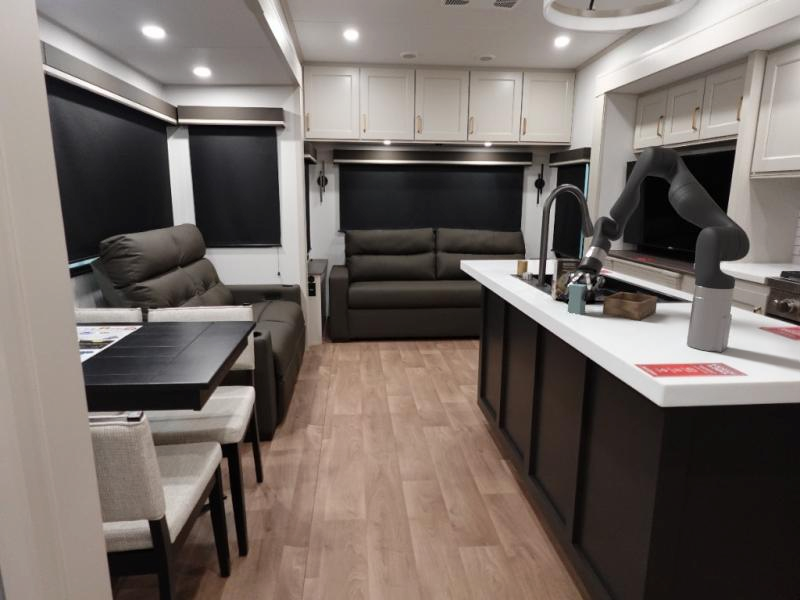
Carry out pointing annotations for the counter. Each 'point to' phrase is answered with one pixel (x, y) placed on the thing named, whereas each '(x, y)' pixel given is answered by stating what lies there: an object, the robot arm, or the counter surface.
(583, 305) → the block
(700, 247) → the robot arm
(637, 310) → the crate
